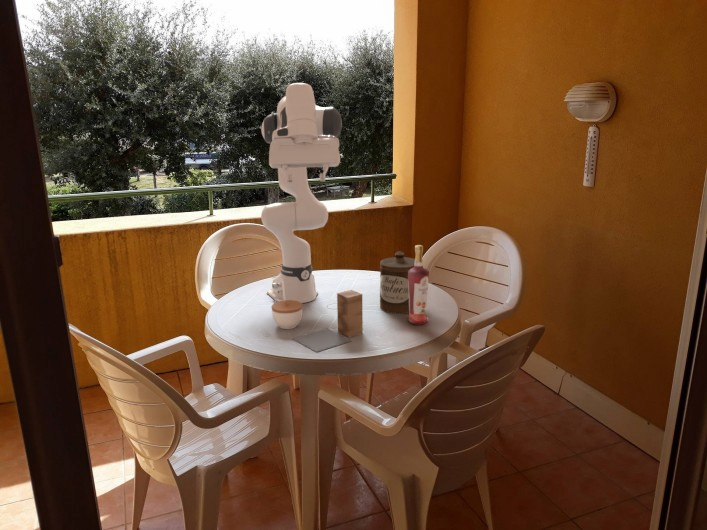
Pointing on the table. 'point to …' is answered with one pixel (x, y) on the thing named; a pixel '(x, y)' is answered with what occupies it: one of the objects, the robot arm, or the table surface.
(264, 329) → the table surface
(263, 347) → the table surface
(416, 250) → the liquor
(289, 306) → the lidded jar
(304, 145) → the robot arm
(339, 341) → the slate mat
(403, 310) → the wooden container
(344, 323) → the walnut block
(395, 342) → the table surface
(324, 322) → the table surface
